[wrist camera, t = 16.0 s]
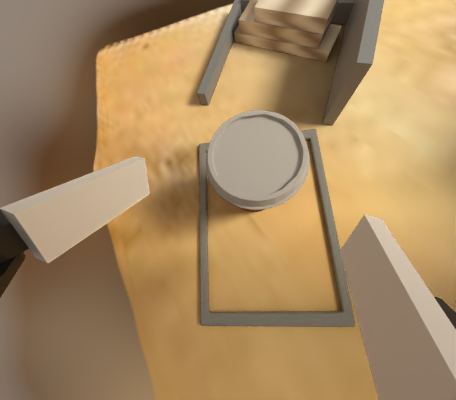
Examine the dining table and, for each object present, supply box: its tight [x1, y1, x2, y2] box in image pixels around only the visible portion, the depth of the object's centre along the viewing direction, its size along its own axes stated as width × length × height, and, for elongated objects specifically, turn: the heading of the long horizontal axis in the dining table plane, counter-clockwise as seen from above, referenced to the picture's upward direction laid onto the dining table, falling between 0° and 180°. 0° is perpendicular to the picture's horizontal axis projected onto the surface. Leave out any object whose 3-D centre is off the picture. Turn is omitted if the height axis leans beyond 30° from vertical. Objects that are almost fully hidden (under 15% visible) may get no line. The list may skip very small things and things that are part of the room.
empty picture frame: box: [199, 129, 355, 327], centre depth 27 cm, size 19×2×30 cm
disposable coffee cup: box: [206, 110, 310, 212], centre depth 21 cm, size 10×10×12 cm
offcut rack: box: [197, 0, 384, 125], centre depth 28 cm, size 23×23×10 cm
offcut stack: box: [234, 0, 342, 62], centre depth 31 cm, size 18×6×6 cm, turn 63°
